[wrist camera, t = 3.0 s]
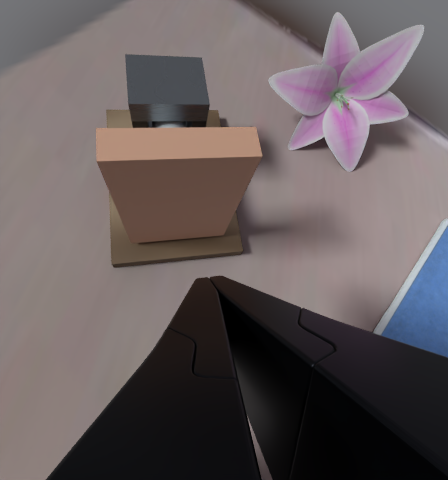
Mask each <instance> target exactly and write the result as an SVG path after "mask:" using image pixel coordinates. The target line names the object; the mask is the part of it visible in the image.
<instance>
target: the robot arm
mask: <svg viewBox="0 0 448 480" xmlns="http://www.w3.org/2000/svg"><path fill="white" fill-rule="evenodd" d="M246 413H247V414H246ZM247 416H248V418H249V421H250V423H251V426H252V429H253V431H254V434H255V436H256V439H257V441H258V444H259V446H260V449H261V451H262V454H263V456H264V459H265V461H266V464H267V466H268V469H269V471H270V474H271V477H272V479H273V480H448V357H446V356H443V355H439V354H436V353H433V352H430V351H427V350H424V349H421V348H418V347H415V346H412V345H409V344H406V343H403V342H400V341H397V340H393V339H390V338H387V337H384V336H381V335H378V334H375V333H372V332H369V331H366V330H363V329H360V328H357V327H354V326H351V325H348V324H345V323H342V322H339V321H336V320H333V319H330V318H328V317H325V316H322V315H320V314H317V313H314V312H312V311H309V310H307V309H305V308H302V309H301V307H298V306H296V305H293V304H291V303H288V302H286V301H283V300H281V299H278V298H276V297H273V296H271V295H268V294H266V293H263V292H261V291H258V290H256V289H254V288H251V287H249V286H246V285H244V284H241V283H239V282H236V281H234V280H231V279H229V278H226V277H224V276H214V277H210V278H208V277H205V278H197V279H196V280H195V281H194V283H193V285H192V286H191V288H190V290H189V291H188V293H187V295H186V296H185V298H184V300H183V302H182V303H181V305H180V307H179V308H178V310H177V312H176V313H175V315H174V317H173V319H172V320H171V322H170V324H169V325H168V327H167V329H166V330H165V331H164V333H163V335H162V337H161V338H160V340H159V341H158V343H157V344H156V346H155V347H154V349H153V350H152V351H151V353H150V354H149V355H148V357H147V358H146V359H145V360H144V362H143V363H142V364H141V366H140V367H139V368H138V369H137V370H136V372H135V373H134V374H133V375H132V376H131V378H130V379H129V380H128V381H127V382H126V384H125V385H124V386H123V387H122V388H121V390H120V391H119V392H118V393H117V394H116V396H115V397H114V398H113V399H112V400H111V402H110V403H109V404H108V405H107V407H106V408H105V409H104V410H103V411H102V413H101V414H100V415H99V416H98V417H97V419H96V420H95V421H94V422H93V423H92V425H91V426H90V427H89V428H88V429H87V431H86V432H85V433H84V434H83V435H82V437H81V438H80V439H79V440H78V441H77V443H76V444H75V445H74V446H73V447H72V449H71V450H70V451H69V452H68V454H67V455H66V456H65V457H64V458H63V460H62V461H61V462H60V463H59V464H58V466H57V467H56V468H55V469H54V470H53V472H52V473H51V474H50V475H49V476H48V478H47V479H46V480H262V479H261V475H260V470H259V466H258V462H257V457H256V453H255V449H254V444H253V440H252V436H251V431H250V427H249V423H248V418H247Z"/></svg>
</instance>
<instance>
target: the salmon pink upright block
mask: <svg viewBox="0 0 448 480" xmlns="http://www.w3.org/2000/svg"><path fill="white" fill-rule="evenodd" d="M152 127H153V128H96V151H97V163H98V166H99V168H100V170H101V173H102V175H103V178H104V180H105V182H106V185H107V187H108V189H109V192H110V194H111V197H112V199H113V201H114V204H115V206H116V209H117V211H118V213H119V216H120V218H121V220H122V223H123V225H124V228H125V230H126V232H127V235H128V237H129V240H130V242H131V243H142V242H154V241H165V240H176V239H188V238H199V237H211V236H222V235H224V233H225V231H226V229H227V227H228V225H229V223H230V221H231V219H232V217H233V215H234V213H235V211H236V209H237V207H238V205H239V203H240V201H241V199H242V197H243V195H244V193H245V191H246V189H247V187H248V185H249V183H250V181H251V179H252V177H253V174H254V172H255V170H256V168H257V166H258V164H259V162H260V160H261V158H262V152H261V147H260V143H259V138H258V134H257V129H256V127H191V128H186V123H185V121H152Z"/></svg>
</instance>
